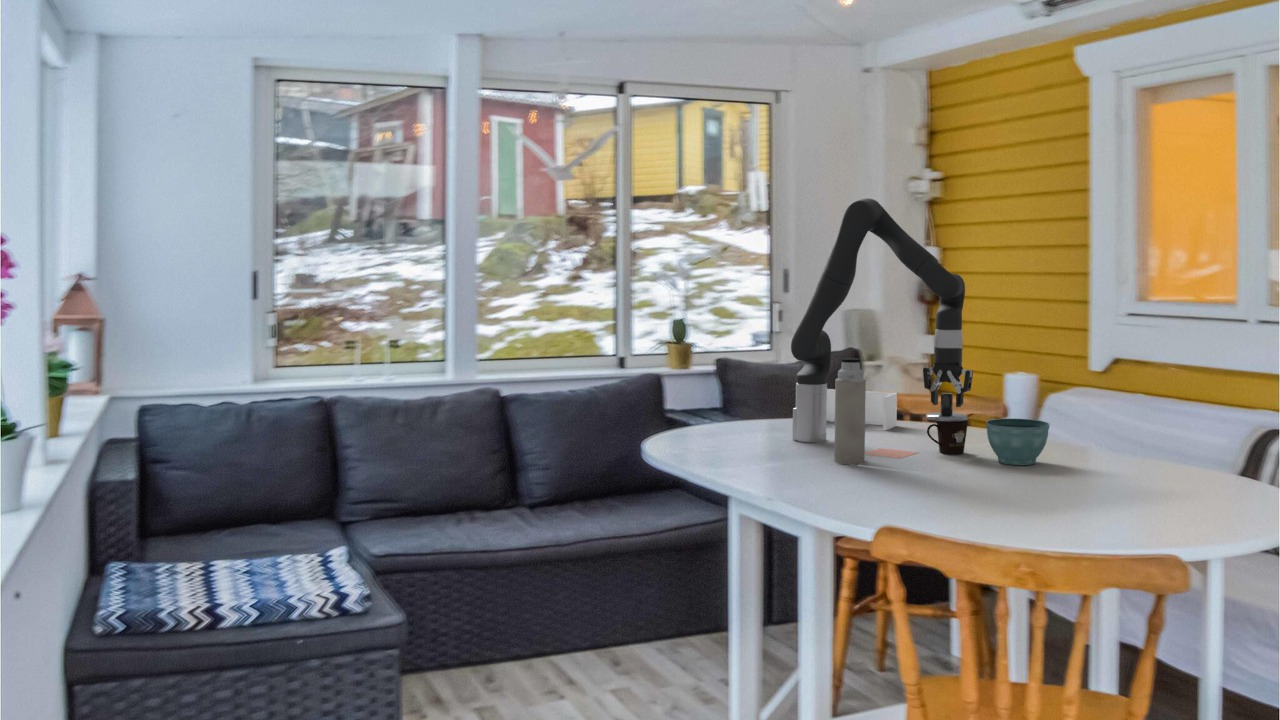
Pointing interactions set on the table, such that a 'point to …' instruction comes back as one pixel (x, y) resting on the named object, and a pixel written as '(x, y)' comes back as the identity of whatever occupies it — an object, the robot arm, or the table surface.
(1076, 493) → the table surface
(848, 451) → the thermos bottle
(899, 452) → the mat
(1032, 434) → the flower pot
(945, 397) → the lid
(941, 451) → the coffee mug
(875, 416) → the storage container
